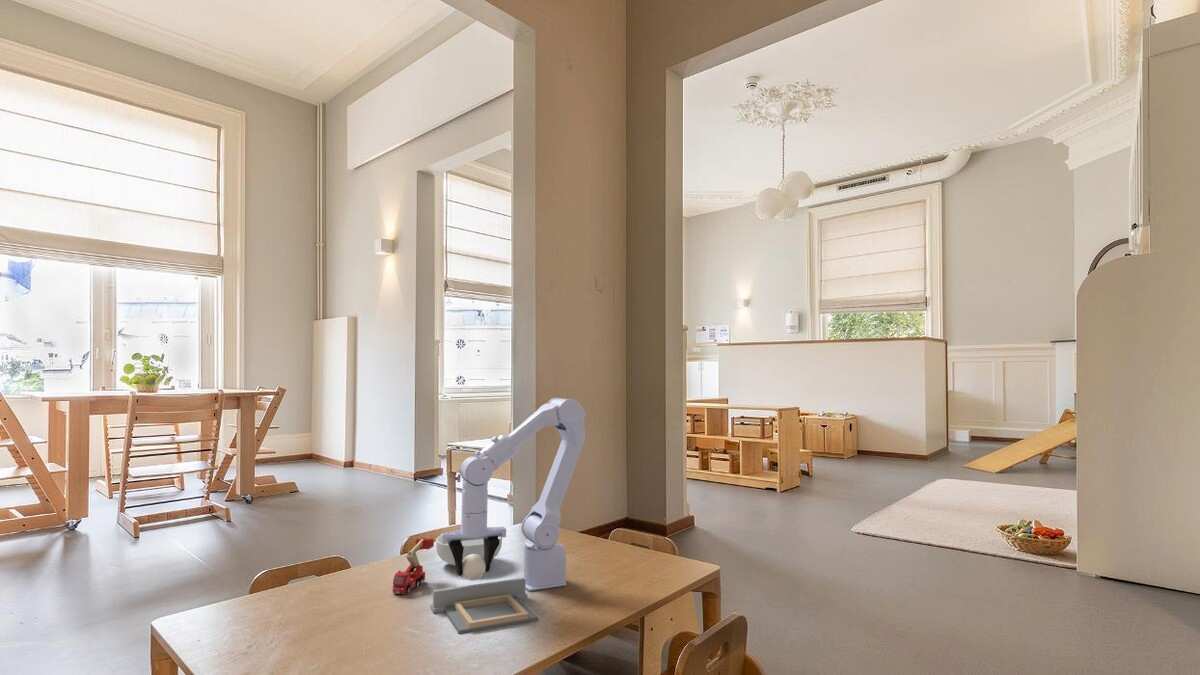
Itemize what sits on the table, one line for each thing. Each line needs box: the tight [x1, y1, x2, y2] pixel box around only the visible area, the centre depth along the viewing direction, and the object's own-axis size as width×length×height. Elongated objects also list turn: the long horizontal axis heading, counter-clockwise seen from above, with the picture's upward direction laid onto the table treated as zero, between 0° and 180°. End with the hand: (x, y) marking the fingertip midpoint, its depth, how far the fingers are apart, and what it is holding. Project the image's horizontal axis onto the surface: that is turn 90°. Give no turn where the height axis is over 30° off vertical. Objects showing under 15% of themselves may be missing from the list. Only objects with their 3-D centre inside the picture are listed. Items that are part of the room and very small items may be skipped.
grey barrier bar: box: [430, 577, 529, 614], centre depth 133 cm, size 20×3×4 cm, turn 117°
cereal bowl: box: [435, 534, 503, 568], centre depth 161 cm, size 17×17×7 cm
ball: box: [461, 554, 486, 581], centre depth 139 cm, size 6×6×6 cm
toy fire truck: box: [392, 537, 435, 595], centre depth 144 cm, size 3×14×10 cm, turn 168°
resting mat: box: [443, 594, 539, 635], centre depth 127 cm, size 16×12×2 cm
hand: (473, 572), depth 139 cm, fingers closed on ball, 6 cm apart
